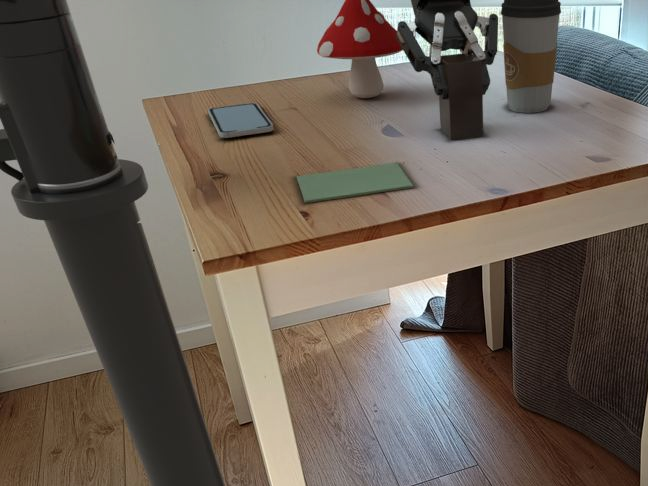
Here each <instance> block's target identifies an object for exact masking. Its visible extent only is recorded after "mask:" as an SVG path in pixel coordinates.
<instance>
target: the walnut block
mask: <svg viewBox="0 0 648 486" xmlns="http://www.w3.org/2000/svg"><path fill="white" fill-rule="evenodd" d="M440 65H443V68H444V72H445V76H446V80H447V84H448V88H449V94H448V97H447V99H441V97H440V95H438V107H439V129H440V131H441V132H442V133H443V134H444V135H445V136H446V137H447V138H448V139H449V140H450V141H458V140H465V139H472V138H480V137H484V102H483V101H484V97H483V96H484V95H483V89H482V60H481V59H479V58H477V57H476V56H474V55H472V54H471V53H463V54H462V53H453V54H443V55H441V60H440Z"/></svg>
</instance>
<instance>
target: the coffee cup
mask: <svg viewBox="0 0 648 486" xmlns="http://www.w3.org/2000/svg"><path fill="white" fill-rule="evenodd" d="M561 5H562V3H561V1H559V0H503V2H502V3H501V6H500V7H501V9H500V15H501V17H502V18H501V19H502V21H501V22H502V36H503V44H502V45H503V49H502V50H503V63H504V79H505V88H506V104H507V105H508V108H509V109H510V110H511V111H513V112H516V113H524V114H525V113H526V114H532V113H540V112H544V111H546V110H548V109H549V107H550V105H551V102H552V94H553V93H552V92H553V84H554V78H555V70H556V60H557V59H556V58H557V50H558V33H559V23H560V15H561V14H562V8H561Z"/></svg>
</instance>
